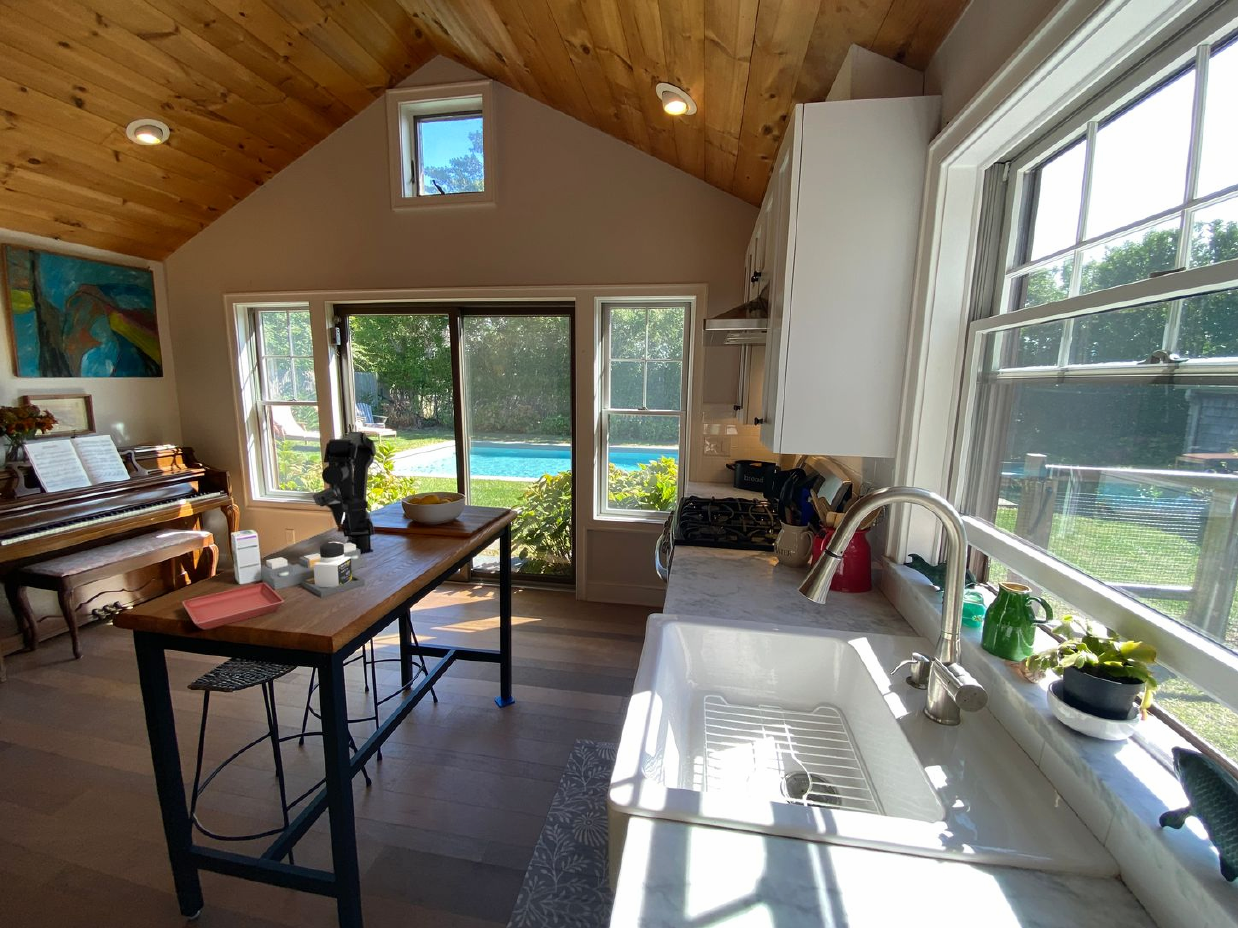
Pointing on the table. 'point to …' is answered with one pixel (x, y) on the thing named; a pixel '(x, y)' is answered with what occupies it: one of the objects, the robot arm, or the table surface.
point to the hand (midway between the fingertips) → (345, 527)
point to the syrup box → (246, 556)
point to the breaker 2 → (349, 547)
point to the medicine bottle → (332, 566)
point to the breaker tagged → (312, 556)
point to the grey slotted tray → (302, 571)
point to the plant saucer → (232, 605)
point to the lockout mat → (323, 592)
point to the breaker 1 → (276, 563)
